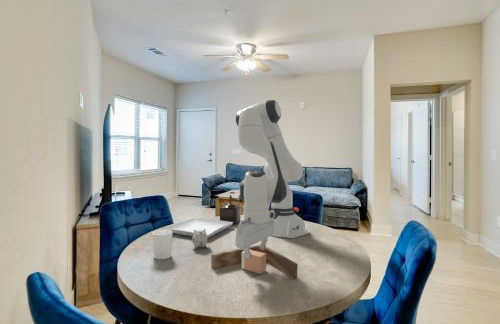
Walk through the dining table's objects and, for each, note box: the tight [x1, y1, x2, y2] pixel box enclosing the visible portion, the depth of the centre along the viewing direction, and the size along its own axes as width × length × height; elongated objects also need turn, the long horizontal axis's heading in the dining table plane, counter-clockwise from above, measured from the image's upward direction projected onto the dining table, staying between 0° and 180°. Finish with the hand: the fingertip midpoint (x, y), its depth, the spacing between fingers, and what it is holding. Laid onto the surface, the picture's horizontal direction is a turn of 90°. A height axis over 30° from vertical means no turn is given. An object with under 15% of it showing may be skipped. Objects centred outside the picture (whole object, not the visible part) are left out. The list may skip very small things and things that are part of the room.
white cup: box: [151, 229, 174, 260], centre depth 113 cm, size 8×8×10 cm
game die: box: [189, 229, 211, 250], centre depth 124 cm, size 9×8×10 cm
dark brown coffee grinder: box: [219, 194, 244, 225], centre depth 168 cm, size 16×11×18 cm
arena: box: [210, 244, 298, 280], centre depth 99 cm, size 22×22×5 cm
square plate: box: [163, 217, 233, 238], centre depth 150 cm, size 27×27×4 cm
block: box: [241, 250, 267, 274], centre depth 101 cm, size 8×4×6 cm, turn 58°
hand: (255, 253), depth 101 cm, fingers open, 8 cm apart
